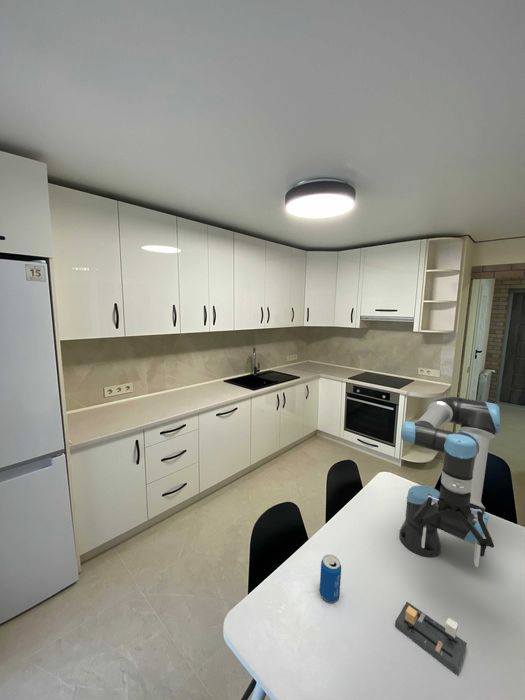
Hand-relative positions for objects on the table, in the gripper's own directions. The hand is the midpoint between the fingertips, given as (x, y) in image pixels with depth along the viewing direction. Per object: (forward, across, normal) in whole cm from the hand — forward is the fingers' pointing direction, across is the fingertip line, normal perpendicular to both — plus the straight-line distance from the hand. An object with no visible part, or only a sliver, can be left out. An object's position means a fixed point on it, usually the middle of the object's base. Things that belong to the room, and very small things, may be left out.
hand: (448, 554), depth 88 cm
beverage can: (+22, -32, -10) cm, 40 cm away
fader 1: (+19, -9, -10) cm, 23 cm away
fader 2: (+19, +2, -8) cm, 21 cm away
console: (+21, -3, -9) cm, 23 cm away
